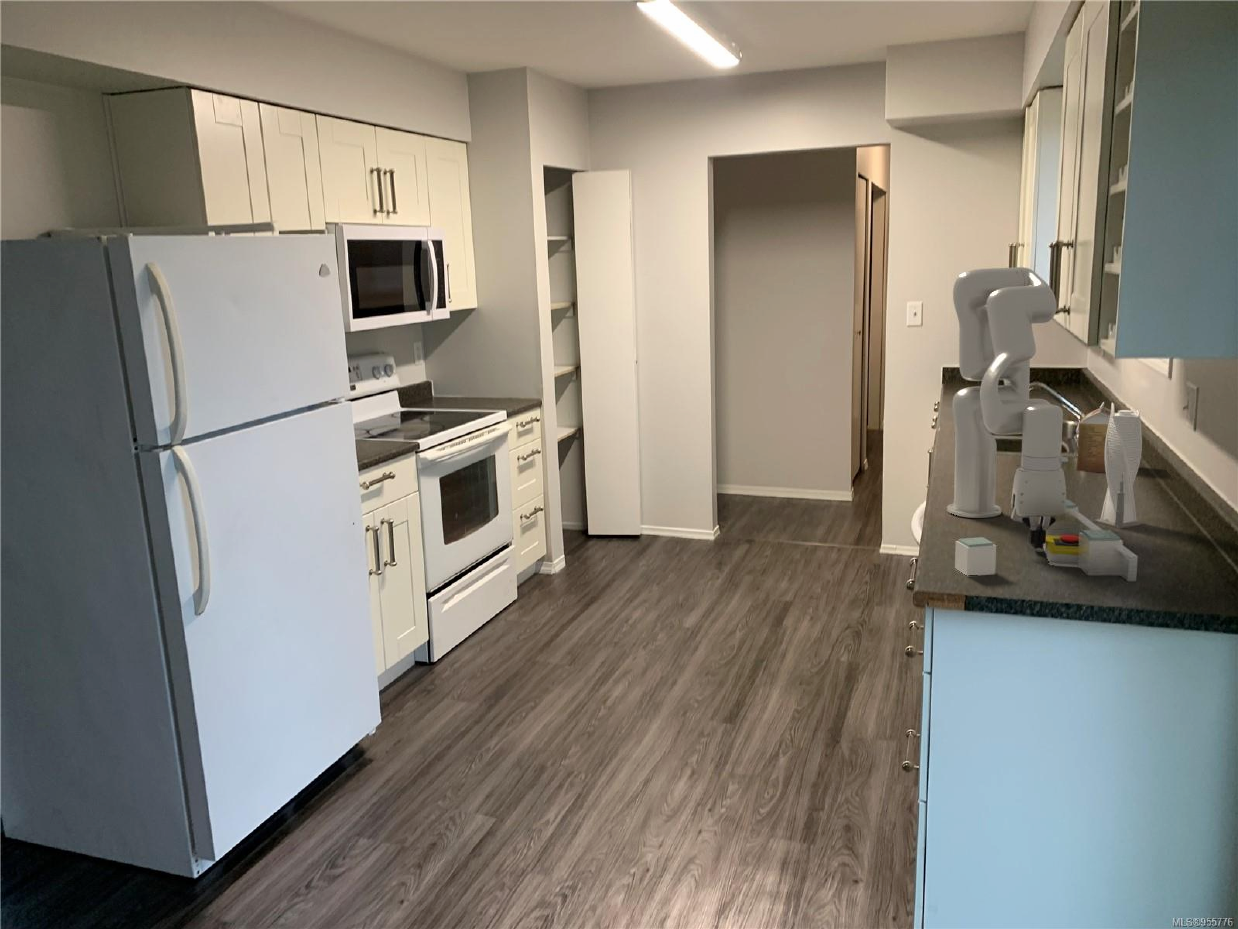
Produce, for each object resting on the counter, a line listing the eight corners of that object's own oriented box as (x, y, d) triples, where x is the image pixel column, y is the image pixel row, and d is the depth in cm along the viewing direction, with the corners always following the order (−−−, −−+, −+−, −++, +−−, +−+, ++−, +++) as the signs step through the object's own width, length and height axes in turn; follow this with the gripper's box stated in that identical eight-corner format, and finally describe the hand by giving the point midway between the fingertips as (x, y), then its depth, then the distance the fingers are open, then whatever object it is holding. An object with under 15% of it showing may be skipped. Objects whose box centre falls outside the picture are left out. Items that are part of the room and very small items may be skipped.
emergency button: (1089, 529, 195) (1101, 550, 181) (1088, 549, 196) (1099, 571, 182) (1042, 527, 198) (1050, 547, 184) (1041, 547, 199) (1049, 568, 185)
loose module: (954, 569, 186) (955, 538, 185) (982, 566, 187) (983, 536, 185) (966, 576, 181) (967, 545, 180) (995, 574, 182) (996, 543, 180)
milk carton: (1117, 473, 260) (1121, 407, 256) (1076, 470, 265) (1080, 406, 262) (1120, 465, 269) (1124, 402, 265) (1080, 463, 274) (1083, 401, 270)
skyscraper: (1089, 520, 215) (1096, 403, 209) (1115, 515, 218) (1122, 400, 212) (1119, 528, 207) (1127, 407, 202) (1146, 524, 210) (1154, 404, 204)
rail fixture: (1035, 527, 212) (1037, 495, 210) (1069, 527, 210) (1071, 495, 209) (1094, 581, 175) (1096, 543, 173) (1136, 581, 174) (1138, 543, 172)
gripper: (1072, 459, 192) (1068, 541, 196) (998, 460, 195) (995, 541, 199) (1084, 466, 185) (1080, 552, 189) (1007, 467, 188) (1004, 552, 191)
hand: (1036, 546), depth 194 cm, fingers closed
